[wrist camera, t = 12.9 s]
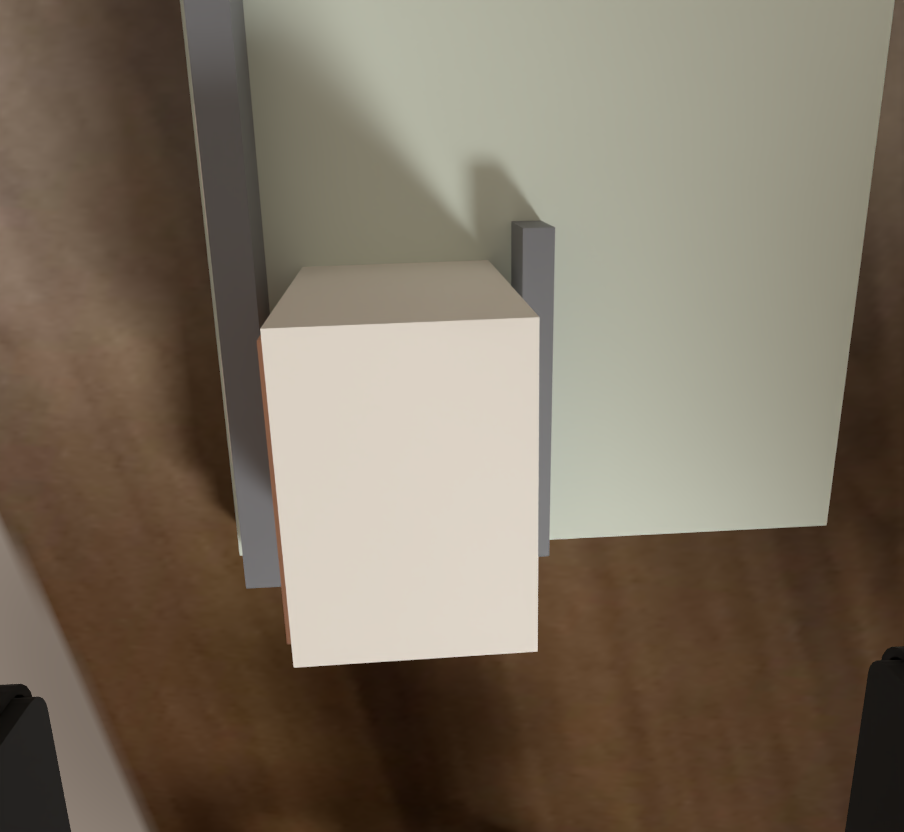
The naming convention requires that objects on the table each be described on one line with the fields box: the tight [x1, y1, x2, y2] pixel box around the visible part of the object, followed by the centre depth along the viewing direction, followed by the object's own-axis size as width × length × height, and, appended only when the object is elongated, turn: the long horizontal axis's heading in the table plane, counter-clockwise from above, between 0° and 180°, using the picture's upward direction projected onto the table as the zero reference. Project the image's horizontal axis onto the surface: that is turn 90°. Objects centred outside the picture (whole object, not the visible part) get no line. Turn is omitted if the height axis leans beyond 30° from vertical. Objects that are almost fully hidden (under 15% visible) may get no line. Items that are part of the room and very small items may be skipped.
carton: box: [257, 260, 540, 668], centre depth 20 cm, size 5×7×8 cm
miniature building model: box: [180, 0, 895, 588], centre depth 22 cm, size 20×18×4 cm
